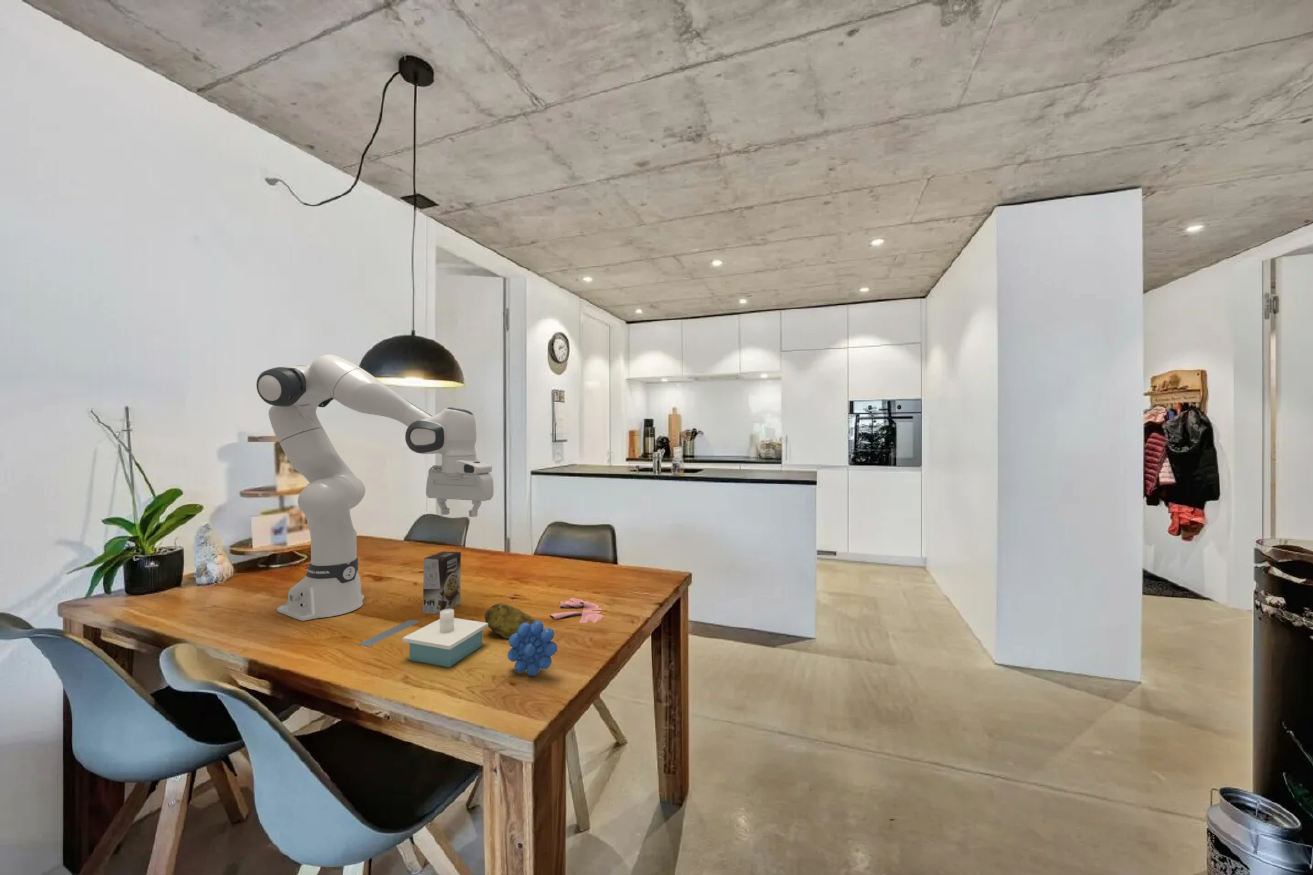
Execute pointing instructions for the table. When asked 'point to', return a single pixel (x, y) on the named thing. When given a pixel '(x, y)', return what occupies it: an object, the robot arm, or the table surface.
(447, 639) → the lid
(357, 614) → the table surface
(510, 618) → the potato
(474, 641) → the dish
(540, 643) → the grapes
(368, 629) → the table surface
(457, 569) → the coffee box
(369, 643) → the mat
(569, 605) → the cloth
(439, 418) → the robot arm
